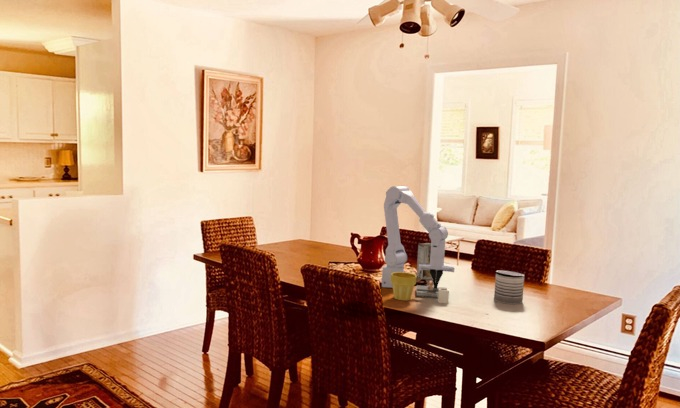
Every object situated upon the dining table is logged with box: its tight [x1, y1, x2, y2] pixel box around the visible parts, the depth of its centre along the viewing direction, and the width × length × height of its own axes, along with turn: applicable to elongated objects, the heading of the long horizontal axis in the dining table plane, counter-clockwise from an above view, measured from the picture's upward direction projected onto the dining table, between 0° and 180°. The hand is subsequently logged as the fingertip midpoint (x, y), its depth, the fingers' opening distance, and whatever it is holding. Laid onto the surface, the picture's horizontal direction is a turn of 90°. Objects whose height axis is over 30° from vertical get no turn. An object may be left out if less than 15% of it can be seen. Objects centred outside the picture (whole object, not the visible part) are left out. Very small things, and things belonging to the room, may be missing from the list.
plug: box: [437, 286, 450, 304], centre depth 224 cm, size 4×4×6 cm
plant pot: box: [391, 271, 418, 301], centre depth 226 cm, size 10×10×10 cm
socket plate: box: [415, 286, 442, 299], centre depth 235 cm, size 12×11×2 cm
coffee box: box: [416, 242, 433, 280], centre depth 264 cm, size 9×6×16 cm
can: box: [493, 269, 525, 305], centre depth 230 cm, size 11×11×12 cm
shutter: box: [416, 280, 434, 292], centre depth 235 cm, size 6×6×3 cm
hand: (435, 287), depth 234 cm, fingers closed
